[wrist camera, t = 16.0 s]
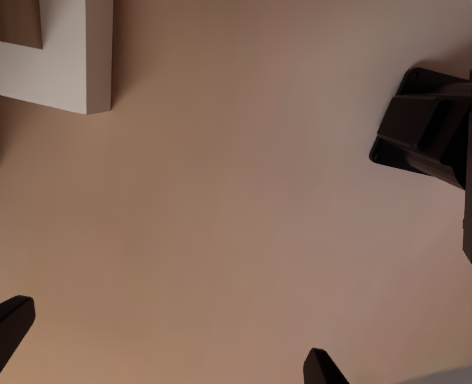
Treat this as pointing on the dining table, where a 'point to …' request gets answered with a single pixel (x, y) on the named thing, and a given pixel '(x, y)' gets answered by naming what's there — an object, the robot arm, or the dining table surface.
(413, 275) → the dining table surface
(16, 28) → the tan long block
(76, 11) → the panel
